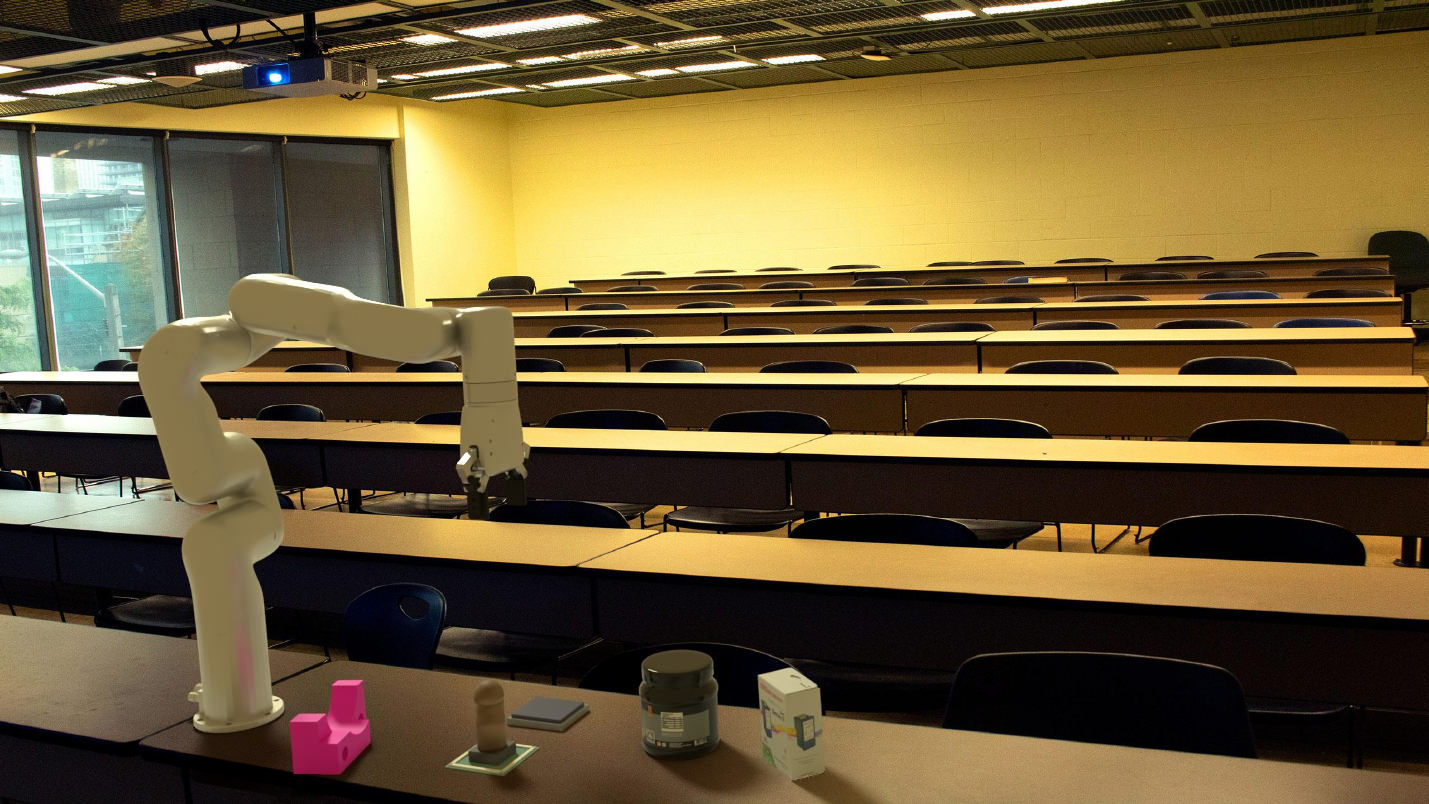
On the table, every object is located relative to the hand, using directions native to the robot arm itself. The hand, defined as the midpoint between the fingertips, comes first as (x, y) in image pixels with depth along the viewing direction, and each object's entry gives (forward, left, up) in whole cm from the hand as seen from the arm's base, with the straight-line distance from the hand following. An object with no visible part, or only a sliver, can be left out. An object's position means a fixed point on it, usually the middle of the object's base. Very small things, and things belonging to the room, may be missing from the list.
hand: (498, 512), depth 162 cm
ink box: (+45, -5, -31) cm, 55 cm away
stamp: (+6, -14, -30) cm, 34 cm away
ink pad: (+6, +1, -30) cm, 31 cm away
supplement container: (+29, -3, -31) cm, 42 cm away
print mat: (+6, -14, -30) cm, 34 cm away
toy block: (-16, -18, -31) cm, 39 cm away
